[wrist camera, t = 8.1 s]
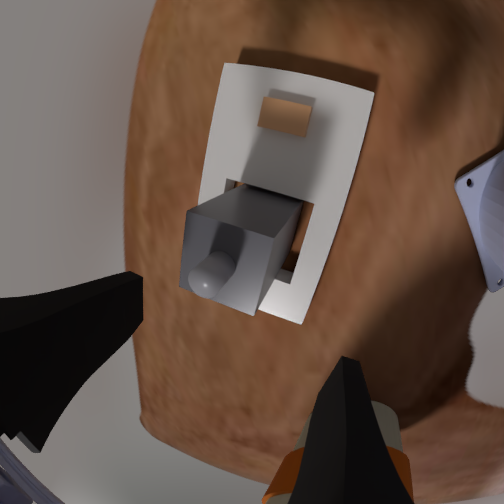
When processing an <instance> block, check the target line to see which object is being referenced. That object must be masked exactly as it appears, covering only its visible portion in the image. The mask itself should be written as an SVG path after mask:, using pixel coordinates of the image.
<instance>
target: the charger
mask: <svg viewBox="0 0 504 504" xmlns="http://www.w3.org/2000/svg"><path fill="white" fill-rule="evenodd" d="M303 202H304V200H301V199H298V198H295V197H291V196H288V195H285V194H281V193H278V192H274V191H271V190H268V189H264V188H261V187H257V186H253V185H250V184H246V183H245V184H243V185H241V186H239V187H236V188H234V189H232V190H230V191H228V192H225V193H223V194H221V195H219V196H217V197H215V198H212V199H210V200H208V201H206V202H204V203H202V204H200V205H198V206H196V207H194V208H192V209H190V210H187V214H186V222H185V231H184V240H183V249H182V260H181V271H180V283H179V287H182V288H184V289H186V290H189V291H191V292H194V293H196V294H197V295H199V296H201V297H203V298H208V299H211V300H213V301H216V302H218V303H221V304H224V305H226V306H229V307H231V308H234V309H236V310H239V311H242V312H244V313H247V314H250V315H252V316H254V315H255V313H256V311H257V310H258V308H259V306H260V304H261V303H262V301H263V299H264V297H265V296H266V294H267V292H268V290H269V288H270V287H271V285H272V283H273V281H274V279H275V278H276V276H277V274H278V272H279V270H280V269H281V267H282V265H283V263H284V261H285V260H286V258H287V256H288V254H289V252H290V248H291V245H292V241H293V238H294V234H295V231H296V227H297V224H298V220H299V217H300V213H301V209H302V206H303Z"/></svg>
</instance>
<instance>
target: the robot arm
mask: <svg viewBox="0 0 504 504" xmlns="http://www.w3.org/2000/svg"><path fill="white" fill-rule="evenodd" d="M469 178H470V179H471V185H470V186H467V183H466V182H467V180H468V179H469ZM454 187H455V190H456V193H457V195H458V197H459V200H460V202H461V205H462V207H463V210H464V213H465V215H466V218H467V221H468V223H469V226H470V229H471V232H472V235H473V238H474V241H475V244H476V247H477V250H478V254H479V257H480V261H481V264H482V268H483V272H484V276H485V280H486V284H487V288H488V289H489V291H490V292H496V291H497V290H499V289H501V288H502V287H504V150H503V151H501V152H499V153H498V154H496V155H495V156H493V157H492V158H490V159H488V160H487V161H485V162H484V163H482V164H480V165H479V166H477V167H475V168H474V169H472V170H471V171H469V172H467V173H466V174H464V175H462V176H461V177H459V178H458V179H457V180H456V181H455V185H454ZM499 279H501V281H500V282H499V283H498V280H499ZM142 321H143V277H142V276H140V275H137V274H135V273H133V272H131V271H128V272H123V273H119V274H115V275H111V276H108V277H104V278H101V279H97V280H94V281H90V282H87V283H83V284H79V285H76V286H72V287H68V288H64V289H60V290H55V291H51V292H47V293H42V294H36V295H29V296H22V297H9V298H0V436H1V435H2V434H3V433H5V434H6V435H7V436H8V437H9V439H10V440H12V439H13V438H14V437H15V436H17V437H18V438H19V439H20V441H21V442H22V443H24V445H25V446H26V447H27V448H28V449H30V451H32V452H33V453H40V452H41V450H42V448H43V446H44V444H45V442H46V440H47V438H48V436H49V434H50V432H51V430H52V429H53V427H54V425H55V424H56V422H57V421H58V419H59V417H60V416H61V414H62V413H63V411H64V409H65V408H66V407H67V405H68V404H69V403H70V401H71V400H72V398H73V397H74V396H75V394H76V393H77V392H78V391H79V389H80V388H81V387H82V385H83V384H84V383H85V382H86V381H87V379H89V377H90V376H91V375H92V374H93V373H94V372H95V371H96V370H97V369H98V368H99V367H100V366H101V365H103V363H105V362H106V361H107V360H108V359H109V358H110V356H112V355H113V354H114V353H115V352H116V351H117V350H118V349H119V348H120V347H121V346H122V345H123V344H124V343H125V342H126V341H127V340H128V339H129V338H130V337H131V335H132V334H133V333H134V332H135V330H136V329H137V328H138V326H139V325H140V324H141V322H142ZM0 465H1V466H2V467H3V468H4V469H5V470H4V469H2V468H1V467H0V504H32V503H33V500H34V501H35V502H36V503H37V504H65V503H63V502H62V501H61V500H60V499H59V498H58V497H56V496H55V495H54V494H53V493H52V492H51V491H49V489H47V488H46V487H45V486H44V485H43V484H42V483H41V482H40V481H39V480H38V479H37V478H36V477H35V476H34V475H33V474H32V473H31V472H30V471H29V470H28V469H27V468H26V467H25V466H24V465H23V464H22V463H21V462H20V461H19V460H18V458H17V457H16V456H15V455H14V454H13V453H12V452H11V450H10V449H9V448H8V447H7V446H6V444H5V443H4V442H3V441H2V440H1V439H0ZM288 504H414V502H413V500H412V499H411V497H410V495H409V493H408V492H407V490H406V488H405V486H404V484H403V482H402V480H401V479H400V477H399V475H398V472H397V470H396V468H395V466H394V463H393V461H392V459H391V457H390V454H389V452H388V449H387V447H386V444H385V441H384V439H383V436H382V433H381V430H380V427H379V424H378V421H377V418H376V415H375V412H374V409H373V406H372V403H371V399H370V396H369V392H368V389H367V386H366V382H365V379H364V375H363V372H362V368H361V365H360V362H359V361H357V360H354V359H350V358H347V357H344V356H341V358H340V360H339V361H338V363H337V365H336V366H335V368H334V370H333V371H332V373H331V375H330V376H329V378H328V379H327V381H326V382H325V384H324V386H323V387H322V389H321V390H320V392H319V393H318V396H317V400H316V403H315V406H314V409H313V412H312V416H311V419H310V423H309V428H308V433H307V438H306V442H305V447H304V452H303V456H302V460H301V465H300V469H299V473H298V477H297V480H296V483H295V486H294V489H293V491H292V494H291V496H290V499H289V501H288Z"/></svg>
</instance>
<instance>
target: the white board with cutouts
mask: <svg viewBox="0 0 504 504" xmlns="http://www.w3.org/2000/svg"><path fill="white" fill-rule="evenodd" d="M373 97H374V92H371V91H367V90H364V89H361V88H358V87H354V86H351V85H347V84H344V83H340V82H336V81H332V80H328V79H324V78H320V77H315V76H311V75H306V74H301V73H296V72H291V71H285V70H279V69H273V68H267V67H259V66H252V65H243V64H233V63H224V67H223V71H222V76H221V80H220V85H219V89H218V94H217V99H216V104H215V108H214V113H213V118H212V124H211V129H210V134H209V140H208V145H207V151H206V156H205V162H204V168H203V174H202V180H201V187H200V193H199V200H198V205H200V204H202V203H204V202H206V201H208V200H210V199H212V198H215V197H217V196H219V195H221V194H223V193H225V192H228V191H230V190H232V189H234V184H235V181H239V182H242V183H246V184H250V185H253V186H257V187H261V188H264V189H268V190H271V191H274V192H278V193H281V194H285V195H288V196H291V197H295V198H298V199H301V200H304V201H308V202H311V203H314V208H313V211H312V215H311V218H310V221H309V225H308V228H307V232H306V235H305V238H304V241H303V245H302V248H301V251H300V255H299V258H298V261H297V264H296V267H295V270H294V273H292V272H290V271H287V270H284V269H280V270H279V272H278V274H277V276H276V278H275V279H274V281H273V283H272V285H271V287H270V288H269V290H268V292H267V294H266V296H265V297H264V299H263V301H262V303H261V304H260V306H259V308H258V309H259V310H262V311H264V312H267V313H270V314H273V315H275V316H278V317H281V318H284V319H287V320H290V321H292V322H295V323H298V324H301V325H302V322H303V320H304V317H305V315H306V312H307V310H308V307H309V305H310V302H311V300H312V297H313V294H314V292H315V289H316V286H317V284H318V281H319V278H320V276H321V273H322V270H323V267H324V265H325V262H326V259H327V256H328V253H329V250H330V248H331V245H332V242H333V239H334V236H335V233H336V230H337V227H338V224H339V221H340V218H341V215H342V211H343V208H344V205H345V202H346V199H347V195H348V192H349V189H350V185H351V182H352V179H353V175H354V172H355V168H356V165H357V161H358V157H359V154H360V150H361V146H362V143H363V139H364V135H365V131H366V127H367V123H368V119H369V115H370V110H371V106H372V102H373Z"/></svg>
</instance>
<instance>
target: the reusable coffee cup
mask: <svg viewBox="0 0 504 504" xmlns="http://www.w3.org/2000/svg"><path fill="white" fill-rule="evenodd" d="M371 403H372V406H373V409H374V412H375V415H376V418H377V421H378V424H379V427H380V430H381V433H382V436H383V439H384V441H385V444H386V447H387V449H388V452H389V454H390V457H391V459H392V461H393V463H394V466H395V468H396V470H397V472H398V475H399V477H400V479H401V480H402V482H403V484H404V486H405V488H406V490H407V492H408V493H409V495H410V497H411V499H412V500H413V489H412V479H411V471H410V463H409V459H408V457H407V456H406V455H405V454H404V453H403V448H402V441H401V435H400V429H399V423H398V417H397V415H396V413H395V412H394V411H393V410H392V409H391V408H390V407H388V406H386V405H384V404H382V403H379V402H376V401H371ZM311 416H312V413H311V414H310V415H309V417H308V419H307V421H306V423H305V426H304V428H303V430H302V432H301V435H300V437H299V439H298V441H297V443H296V445H295V448H294V450H293V451H292V452H290V453H289V454H288V455H287V456H286V457H285V458H284V460H283V462H282V463H281V465H280V467H279V469H278V471H277V473H276V475H275V477H274V479H273V480H272V482H271V484H270V486H269V488H268V489H267V491H266V493H265V495H264V497H263V498H262V503H263V504H288V501H289V499H290V496H291V494H292V491H293V489H294V486H295V483H296V480H297V477H298V473H299V469H300V465H301V460H302V456H303V452H304V447H305V442H306V438H307V433H308V428H309V423H310V419H311ZM413 502H414V500H413Z"/></svg>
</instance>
